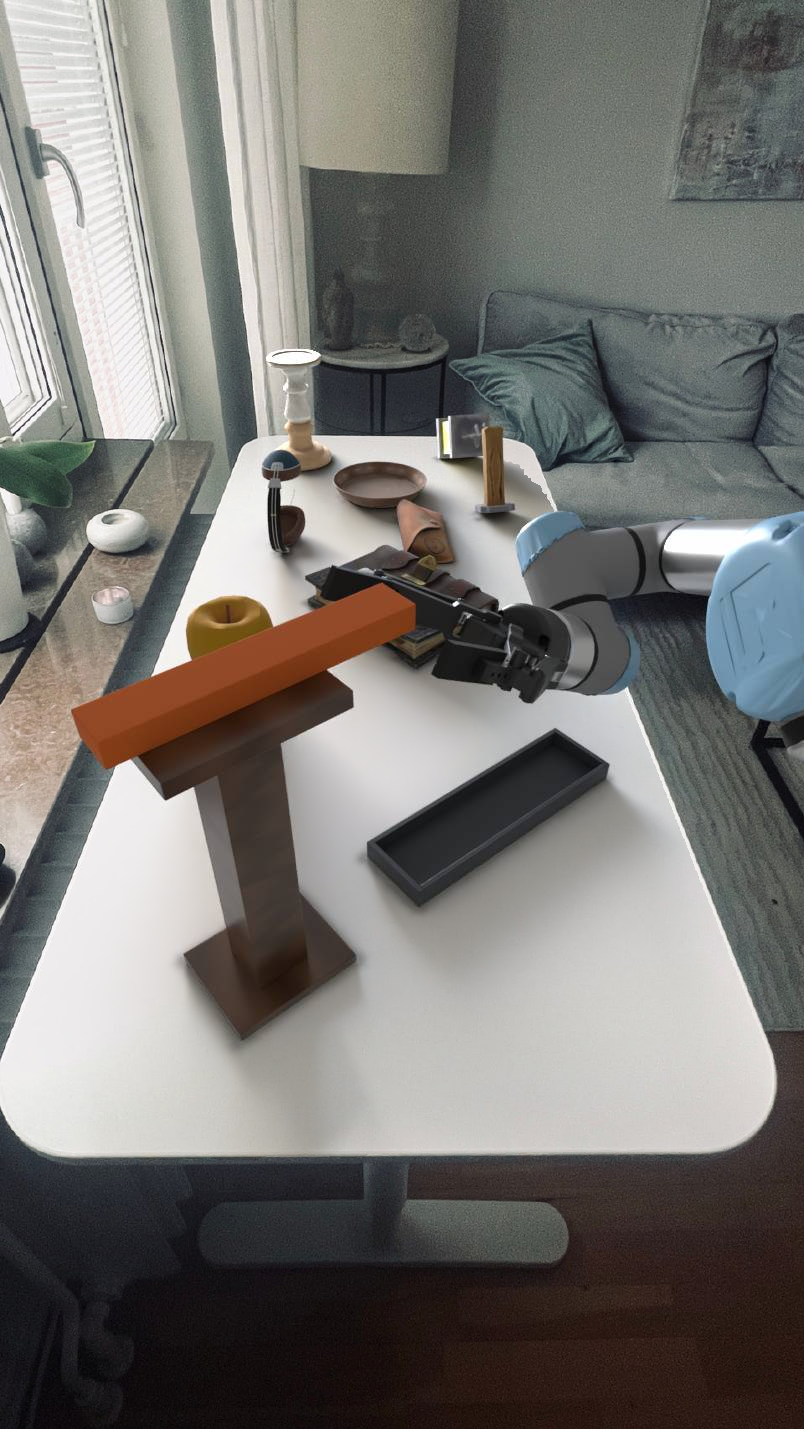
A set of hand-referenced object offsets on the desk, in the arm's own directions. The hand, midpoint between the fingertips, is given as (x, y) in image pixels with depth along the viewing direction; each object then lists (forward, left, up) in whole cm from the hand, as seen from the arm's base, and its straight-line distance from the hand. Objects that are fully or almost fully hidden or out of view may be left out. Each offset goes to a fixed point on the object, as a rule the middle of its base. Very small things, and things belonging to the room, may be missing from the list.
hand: (380, 618), depth 58 cm
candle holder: (+108, +29, -31) cm, 116 cm away
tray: (+11, -11, -31) cm, 35 cm away
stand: (-9, +9, -31) cm, 34 cm away
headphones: (+72, +25, -31) cm, 83 cm away
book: (+51, +3, -31) cm, 59 cm away
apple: (+30, +22, -31) cm, 48 cm away
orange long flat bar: (-7, +7, -1) cm, 10 cm away
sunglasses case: (+74, +2, -31) cm, 81 cm away
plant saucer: (+93, +11, -31) cm, 98 cm away
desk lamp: (+99, -6, -31) cm, 104 cm away
